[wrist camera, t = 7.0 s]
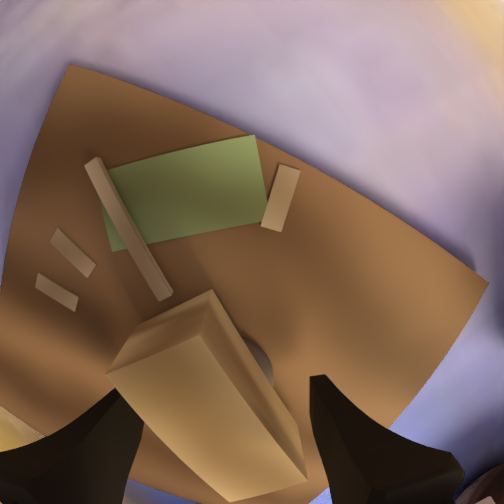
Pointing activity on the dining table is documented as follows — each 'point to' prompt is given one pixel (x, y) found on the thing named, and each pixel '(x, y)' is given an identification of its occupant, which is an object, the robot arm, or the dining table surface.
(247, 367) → the peg key
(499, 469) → the wooden sphere
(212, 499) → the brown flat square board
